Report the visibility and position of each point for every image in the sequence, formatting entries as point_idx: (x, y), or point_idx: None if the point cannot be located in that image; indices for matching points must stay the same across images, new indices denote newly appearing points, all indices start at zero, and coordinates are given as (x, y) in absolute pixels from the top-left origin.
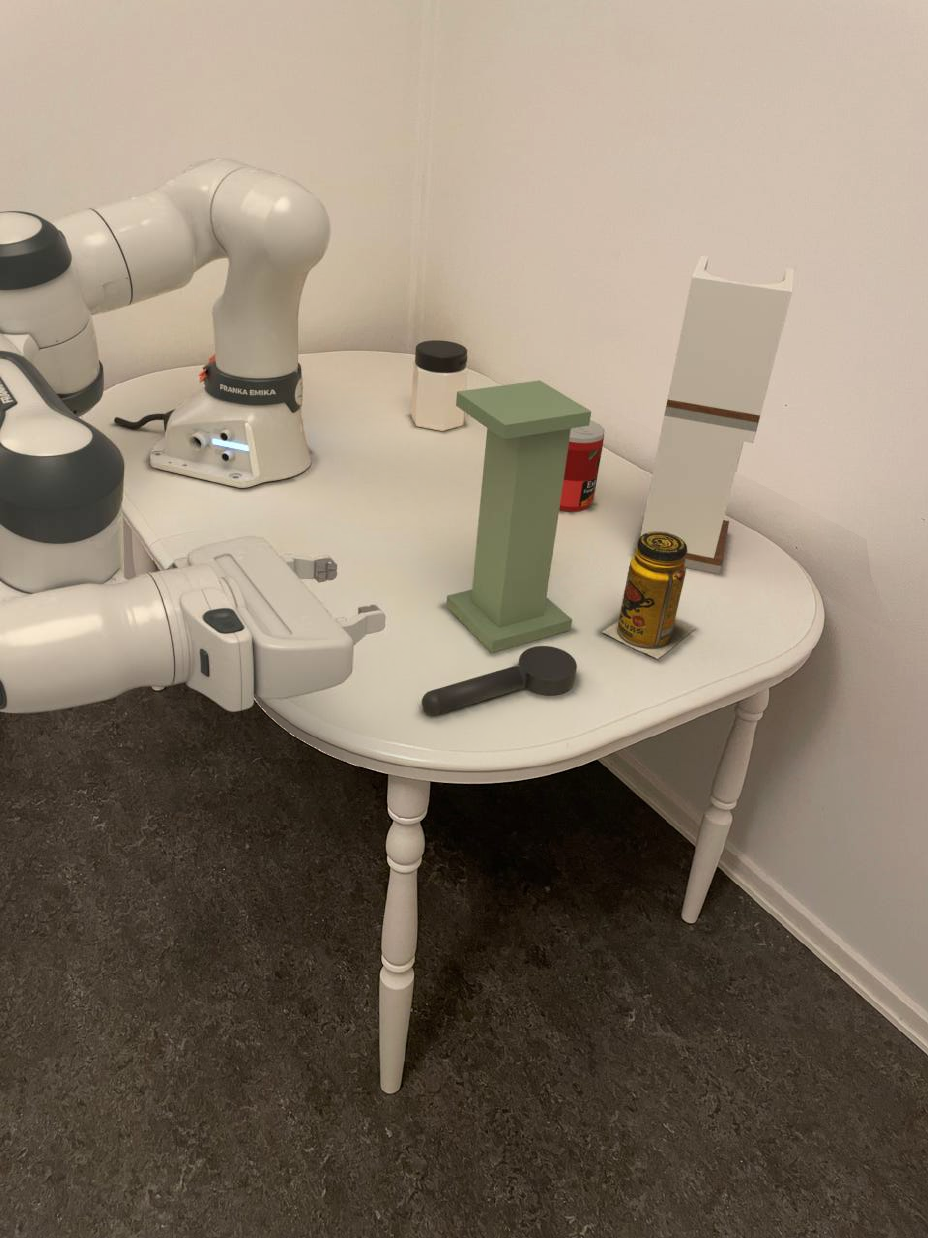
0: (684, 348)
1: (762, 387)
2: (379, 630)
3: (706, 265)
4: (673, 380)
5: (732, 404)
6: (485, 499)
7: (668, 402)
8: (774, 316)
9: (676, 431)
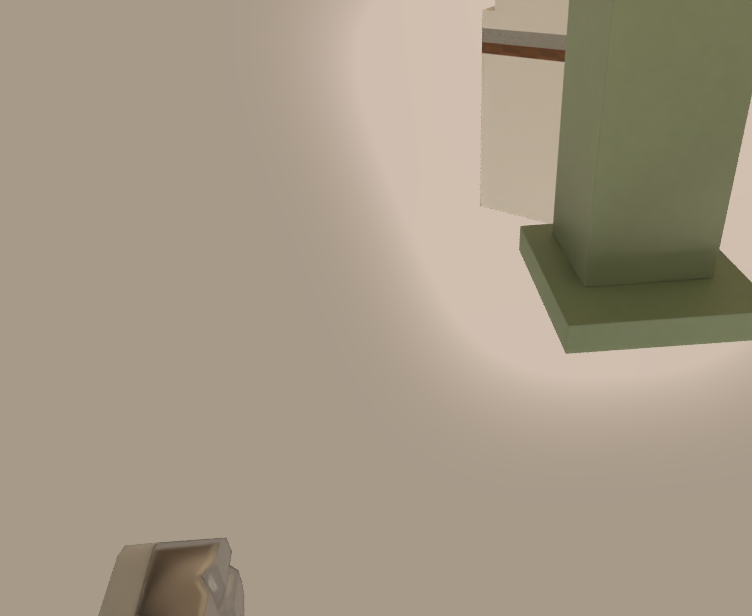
0: None
1: (486, 92)
2: (116, 566)
3: None
4: None
5: (516, 65)
6: (734, 60)
7: None
8: (491, 180)
9: None
